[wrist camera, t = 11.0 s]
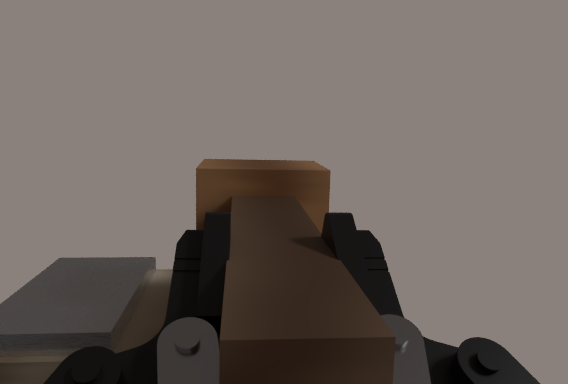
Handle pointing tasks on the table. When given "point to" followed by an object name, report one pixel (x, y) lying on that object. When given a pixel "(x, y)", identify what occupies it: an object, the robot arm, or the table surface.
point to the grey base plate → (74, 306)
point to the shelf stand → (141, 328)
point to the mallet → (288, 281)
